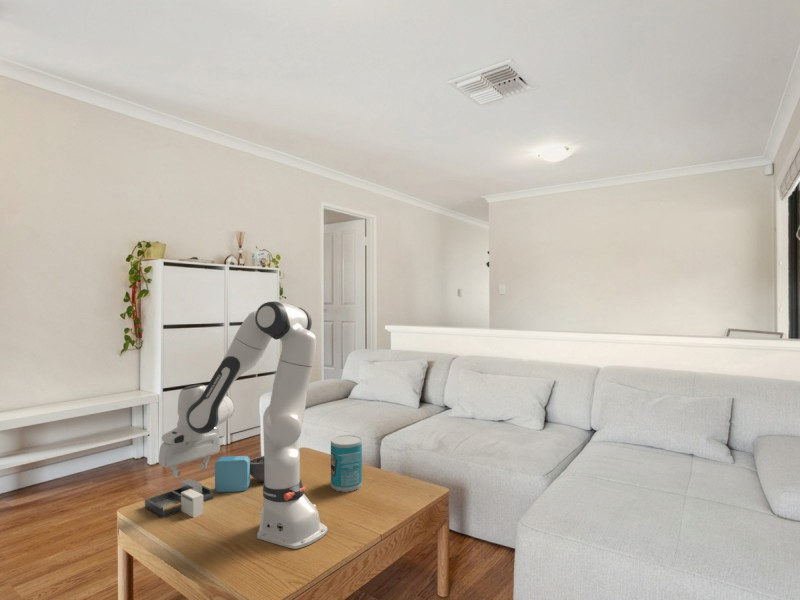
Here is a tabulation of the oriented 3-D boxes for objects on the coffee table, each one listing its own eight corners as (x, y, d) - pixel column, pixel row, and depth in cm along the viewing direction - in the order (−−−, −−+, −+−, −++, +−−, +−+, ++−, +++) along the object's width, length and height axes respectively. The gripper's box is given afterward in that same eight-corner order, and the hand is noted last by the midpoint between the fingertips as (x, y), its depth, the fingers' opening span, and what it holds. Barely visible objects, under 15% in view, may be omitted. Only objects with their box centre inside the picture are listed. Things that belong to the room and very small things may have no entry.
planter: (243, 485, 178) (242, 434, 178) (267, 469, 194) (267, 422, 194) (276, 489, 174) (276, 437, 173) (298, 473, 190) (298, 425, 189)
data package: (250, 486, 177) (250, 455, 177) (247, 491, 173) (247, 459, 172) (218, 487, 176) (218, 456, 176) (214, 492, 171) (214, 461, 171)
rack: (213, 498, 166) (213, 482, 166) (162, 518, 152) (161, 500, 152) (195, 490, 174) (195, 474, 174) (145, 508, 159) (144, 491, 159)
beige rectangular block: (203, 513, 155) (203, 494, 155) (193, 517, 152) (193, 498, 152) (191, 507, 160) (191, 488, 160) (181, 511, 157) (180, 492, 157)
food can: (325, 489, 174) (324, 442, 174) (340, 477, 185) (340, 433, 185) (352, 494, 169) (352, 446, 169) (367, 482, 180) (367, 436, 180)
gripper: (214, 424, 166) (213, 462, 166) (156, 437, 150) (155, 479, 150) (224, 427, 162) (223, 466, 162) (166, 441, 146) (165, 484, 146)
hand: (190, 472), depth 156 cm, fingers open, 8 cm apart
